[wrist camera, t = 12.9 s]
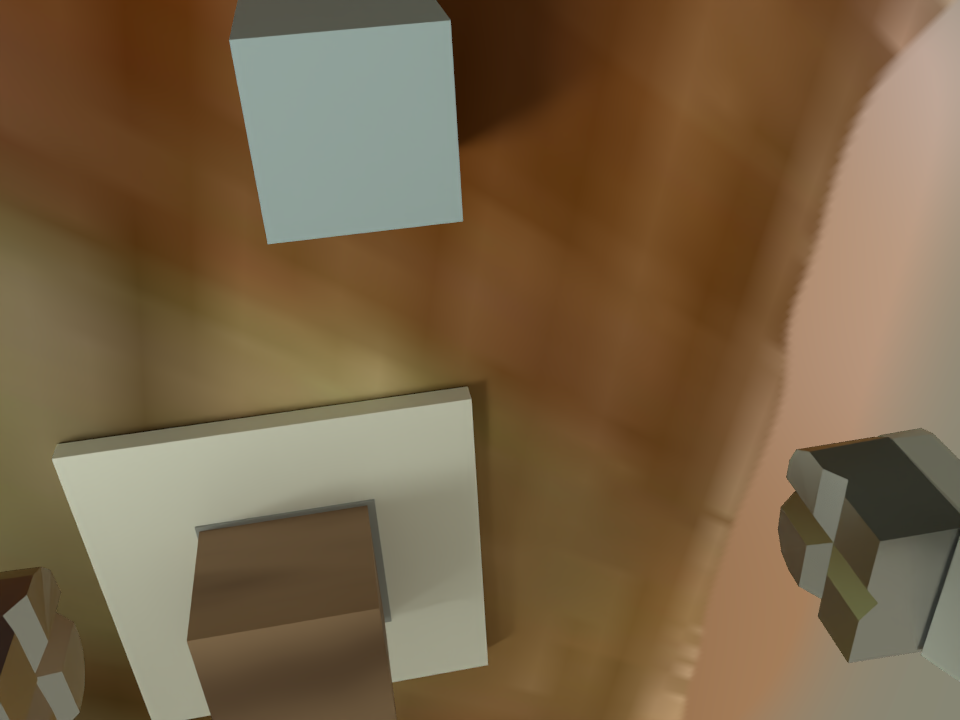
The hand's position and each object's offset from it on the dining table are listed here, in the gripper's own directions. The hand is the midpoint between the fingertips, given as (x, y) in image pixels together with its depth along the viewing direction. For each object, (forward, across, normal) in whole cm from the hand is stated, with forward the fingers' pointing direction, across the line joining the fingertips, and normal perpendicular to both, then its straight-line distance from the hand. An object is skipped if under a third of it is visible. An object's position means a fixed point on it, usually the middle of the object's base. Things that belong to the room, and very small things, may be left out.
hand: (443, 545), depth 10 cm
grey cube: (+19, 0, 0) cm, 19 cm away
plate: (+19, -4, -18) cm, 27 cm away
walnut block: (+18, -4, -18) cm, 26 cm away
